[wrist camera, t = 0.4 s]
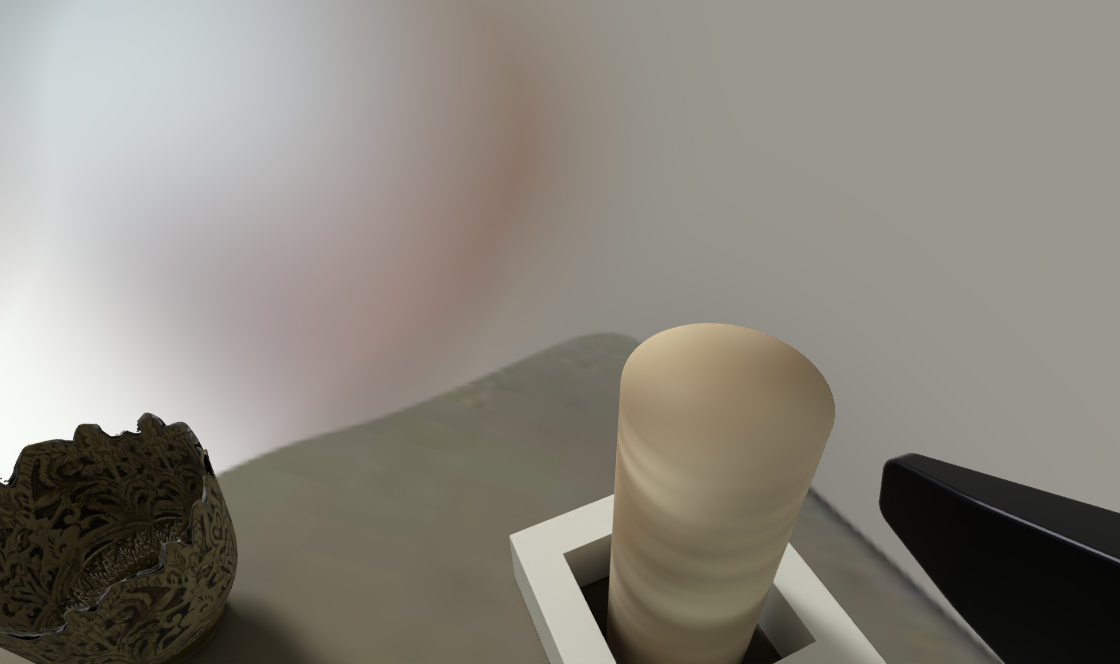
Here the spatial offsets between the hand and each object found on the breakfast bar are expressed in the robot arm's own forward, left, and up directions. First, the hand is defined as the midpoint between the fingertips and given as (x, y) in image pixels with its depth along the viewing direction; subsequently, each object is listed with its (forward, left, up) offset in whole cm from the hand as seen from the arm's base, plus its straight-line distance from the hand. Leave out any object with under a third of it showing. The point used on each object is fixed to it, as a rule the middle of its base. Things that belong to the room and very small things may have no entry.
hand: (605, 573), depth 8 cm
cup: (+12, +11, -16) cm, 23 cm away
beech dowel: (+4, -6, -16) cm, 18 cm away
